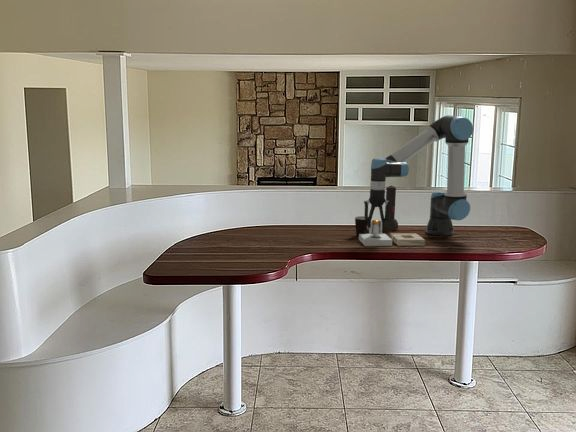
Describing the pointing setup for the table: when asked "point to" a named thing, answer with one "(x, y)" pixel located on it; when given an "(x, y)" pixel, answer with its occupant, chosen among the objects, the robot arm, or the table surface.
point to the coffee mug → (361, 225)
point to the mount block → (375, 240)
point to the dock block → (407, 239)
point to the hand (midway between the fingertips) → (375, 233)
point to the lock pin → (375, 228)
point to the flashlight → (391, 210)
